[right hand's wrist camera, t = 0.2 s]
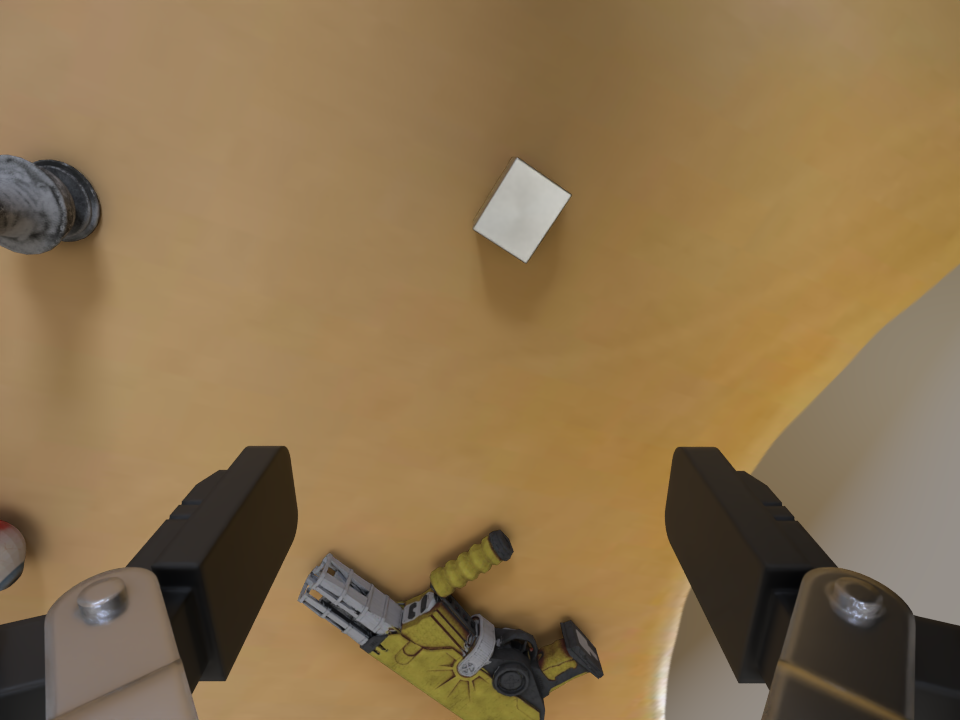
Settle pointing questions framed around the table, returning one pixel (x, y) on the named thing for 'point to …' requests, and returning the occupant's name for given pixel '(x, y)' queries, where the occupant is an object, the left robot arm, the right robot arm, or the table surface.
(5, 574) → the eyeball
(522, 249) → the block
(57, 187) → the salt shaker
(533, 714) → the toy gun
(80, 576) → the table surface
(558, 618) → the table surface
